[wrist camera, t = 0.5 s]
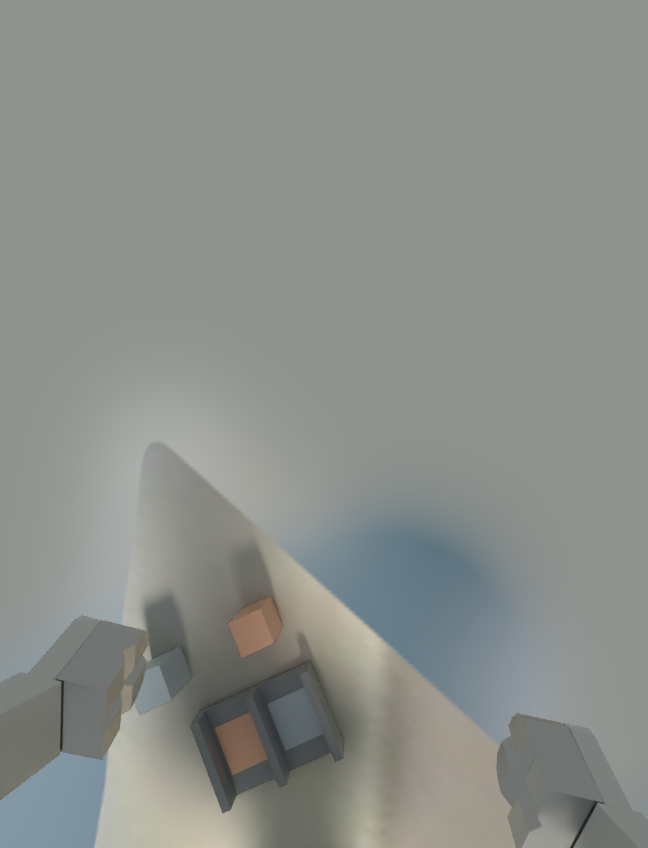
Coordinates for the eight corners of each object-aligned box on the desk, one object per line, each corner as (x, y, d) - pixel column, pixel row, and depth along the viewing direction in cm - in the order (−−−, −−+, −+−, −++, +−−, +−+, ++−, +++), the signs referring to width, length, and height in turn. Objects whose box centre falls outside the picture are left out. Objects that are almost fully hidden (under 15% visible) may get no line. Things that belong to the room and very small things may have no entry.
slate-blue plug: (192, 676, 58) (171, 700, 51) (163, 690, 58) (139, 715, 51) (180, 646, 58) (158, 665, 52) (151, 659, 58) (126, 680, 52)
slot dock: (344, 741, 55) (343, 758, 52) (230, 793, 56) (222, 813, 52) (310, 660, 57) (307, 671, 54) (200, 710, 57) (190, 724, 54)
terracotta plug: (283, 626, 58) (274, 643, 51) (254, 639, 58) (241, 658, 51) (270, 595, 58) (260, 608, 52) (241, 608, 59) (227, 623, 52)
